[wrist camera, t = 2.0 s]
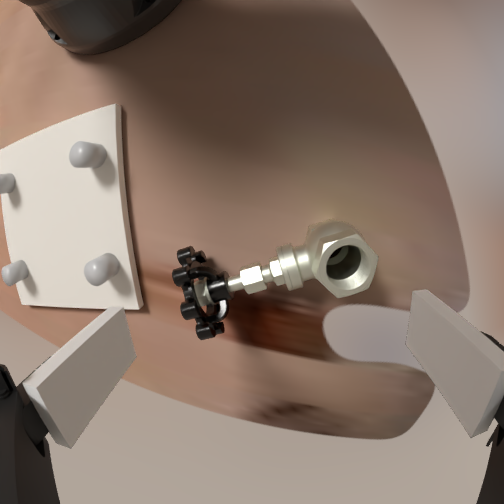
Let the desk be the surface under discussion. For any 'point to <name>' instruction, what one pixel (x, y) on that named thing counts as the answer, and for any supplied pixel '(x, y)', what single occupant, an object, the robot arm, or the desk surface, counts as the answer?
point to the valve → (276, 273)
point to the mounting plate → (70, 215)
